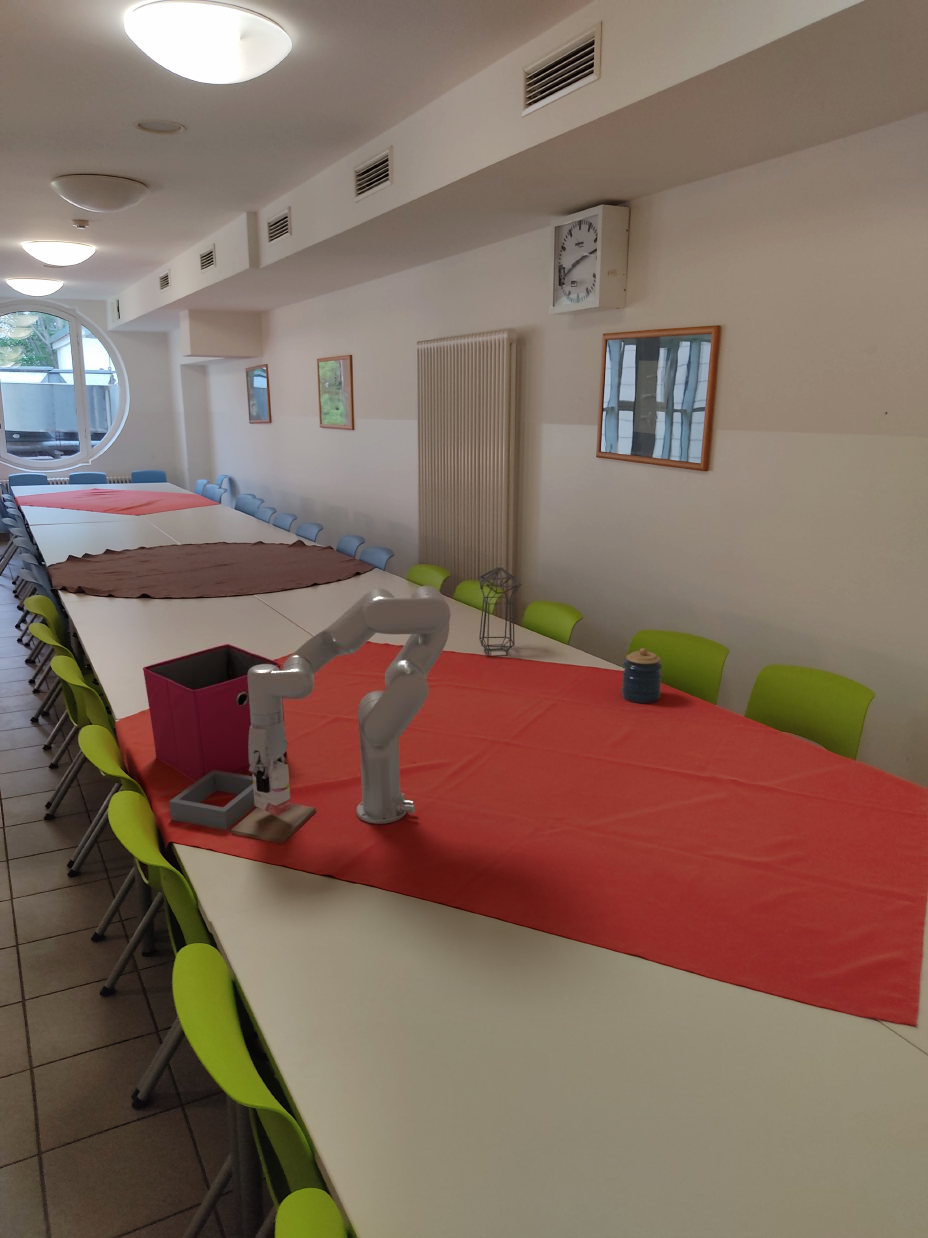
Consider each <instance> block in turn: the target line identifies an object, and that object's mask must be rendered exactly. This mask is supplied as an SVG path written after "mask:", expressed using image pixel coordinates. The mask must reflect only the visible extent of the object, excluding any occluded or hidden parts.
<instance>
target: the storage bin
mask: <svg viewBox="0 0 928 1238" xmlns="http://www.w3.org/2000/svg"><path fill="white" fill-rule="evenodd" d="M260 664H271V665H275V666H277V667H278V668H279V670H281V671H282V668H281V663H279V661H275V660H273V659H270V658H267V657H265V656H262V655H260V654H257V653H253V652H250V651H247V650H245V649H243V648H240V647H238V646H235V645H232V644H230V643H226V644H222V645H217V646H213V647H211V648H207V649H203V650H199V651H195V652H193V653H189V654H185V655H182V656H179V657H175V658H172V659H171V658H170V659H168V660H164V661H160V662H157V663H154V664H153V663H152V664H150V665H147V666H143V667H142V671H143V677H144V678H143V679H144V681H145V682H144V684H145V689H146V696H147V703H148V707H149V715H150V723H151V729H152V735H153V743H154V750H155V751H154V752H155V759H156V760H159V761H160V762H162V763H164V764H165V765H167V766H169V768H172V769H173V770H175V771H177V772H178V773H179V774H180V775H182V776H184V777H185V778H187V779H188V780H190V781H191V782H193V784H194V783H195V782H197V781H198V780H200V779H201V778H202V777H204V776H205V775H207V774H208V773H209V772H211V771H212V770H216V771H222V772H228V773H234V774H241V773H243V772H246V771H249V768H250V764H249V751H248V744H249V730H250V726H251V720H250V706H249V692H248V679H247V674H248V671H249V669H250V668H251V667H253V666H256V665H260ZM282 709H283V710H284V698H282ZM284 714H285V713H284V711H283V722H284V723H285V717H284V716H285V715H284ZM284 727H285V724H284ZM285 728H286V727H285ZM285 756H288V751H287V750H286V755H285Z"/></svg>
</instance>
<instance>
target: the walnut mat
mask: <svg viewBox="0 0 928 1238" xmlns="http://www.w3.org/2000/svg"><path fill="white" fill-rule="evenodd" d="M315 812H316V807H315V806H307V805H302V804H298V803H297V804H296V803H292V802H291V809H290V810H287V811H285V812H283V813H281V814H279V815H277V816H275V815H273V814H271V813H269V812H267V811H265V810H263V809H261V808H259V807H256V808H254V809H253V810H252V811H251V812H250V813H249V814H248V815H247V816H246V817H244V818H243V819H242V820H241V821H240V822H238V823H237V824H236V825H235V826H233V828H232V829H230V833H231V835H236V836H241V837H247V838H252V839H258V840H261V841H268V842H271V843H272V842H273V843H278V844H281V845H283V844H285V842H286V841H287V840H288V839H289V838H291V836H292V835H293V834H294V833H295V832H296V831H298V829H299V828H300V827H301V826H302V825H304V823H305V822H307V820H308V819H310V817H312V815H313V814H315Z"/></svg>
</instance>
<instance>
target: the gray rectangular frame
mask: <svg viewBox="0 0 928 1238" xmlns="http://www.w3.org/2000/svg"><path fill="white" fill-rule="evenodd" d="M216 791H218V792H222V793H228V794H234V795H237V796H235V797H234V798H233V799H231V800H230V801H229V802H228V803H226V805H225V806H223V807H221V806H216V805H212V804H206V803H201V801H202V802H203V801H204V800H206V799H207V798H208V797H210V796H212V794H214V793H215V792H216ZM168 804H169V812H170V820H172V821H178V822H182V823H187V824H191V825H197V826H202V827H208V828H213V829H218V830H223V831H227V830H229V829H230V828H231V827H232V826H233V825H234V824H236V823H237V822H238V821H240V819H242V817H244V816H245V815H246V814H247V813H248V812H250V811H251V810H252V809H253V808H254V807H256V806H255V803H254V789H253V776H252V775H251V776H250V775H246V774H241V773H239V774H234V773H228V772H222V771H216V770H212V771H211V772H209V773H208V774H207V775H205V776H204V777H202V778H201V779H200V780H198V781H197V782H195V783H194V782H193V783H192V784H191V785H190V786H189V787H187V788H186V789H184V790H183V791H181V792H180V793H179V794H177V795H176V796H174V797H173V798H172V799H170V800H169V802H168Z"/></svg>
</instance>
